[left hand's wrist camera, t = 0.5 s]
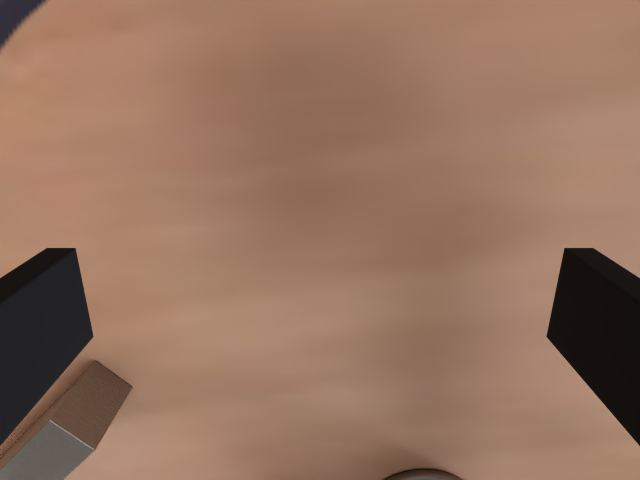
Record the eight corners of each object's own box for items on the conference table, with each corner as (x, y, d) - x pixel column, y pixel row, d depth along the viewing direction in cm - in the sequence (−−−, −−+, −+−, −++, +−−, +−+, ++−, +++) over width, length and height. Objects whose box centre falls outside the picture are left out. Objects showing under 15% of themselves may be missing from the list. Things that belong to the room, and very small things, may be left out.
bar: (95, 360, 52) (49, 419, 43) (132, 386, 53) (95, 450, 44) (-7, 464, 57) (-67, 536, 48) (29, 486, 58) (-23, 560, 50)
